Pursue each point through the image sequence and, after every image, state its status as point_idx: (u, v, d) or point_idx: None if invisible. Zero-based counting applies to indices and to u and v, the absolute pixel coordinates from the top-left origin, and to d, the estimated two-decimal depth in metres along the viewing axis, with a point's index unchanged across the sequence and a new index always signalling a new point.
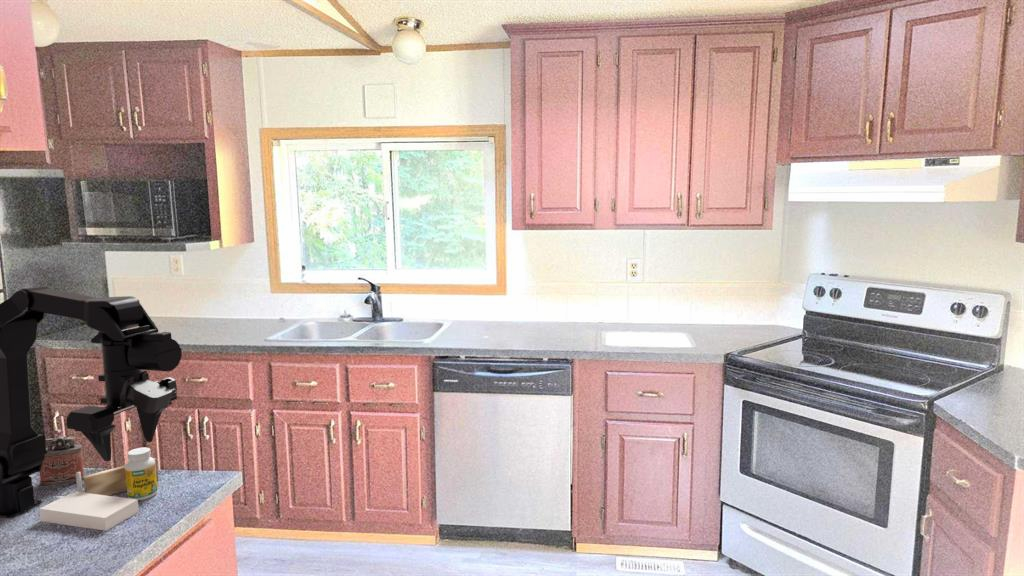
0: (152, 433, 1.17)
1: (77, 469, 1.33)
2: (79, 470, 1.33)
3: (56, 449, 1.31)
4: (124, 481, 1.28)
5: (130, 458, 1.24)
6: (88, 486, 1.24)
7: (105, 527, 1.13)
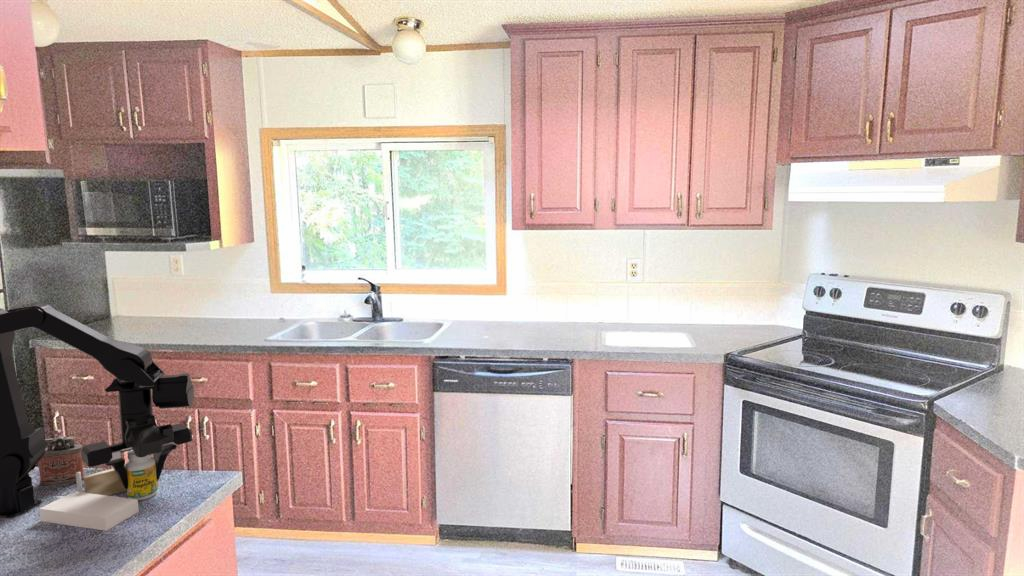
0: (158, 472, 1.28)
1: (77, 469, 1.33)
2: (79, 470, 1.33)
3: (56, 449, 1.31)
4: None
5: (130, 458, 1.24)
6: (88, 486, 1.24)
7: (105, 527, 1.13)
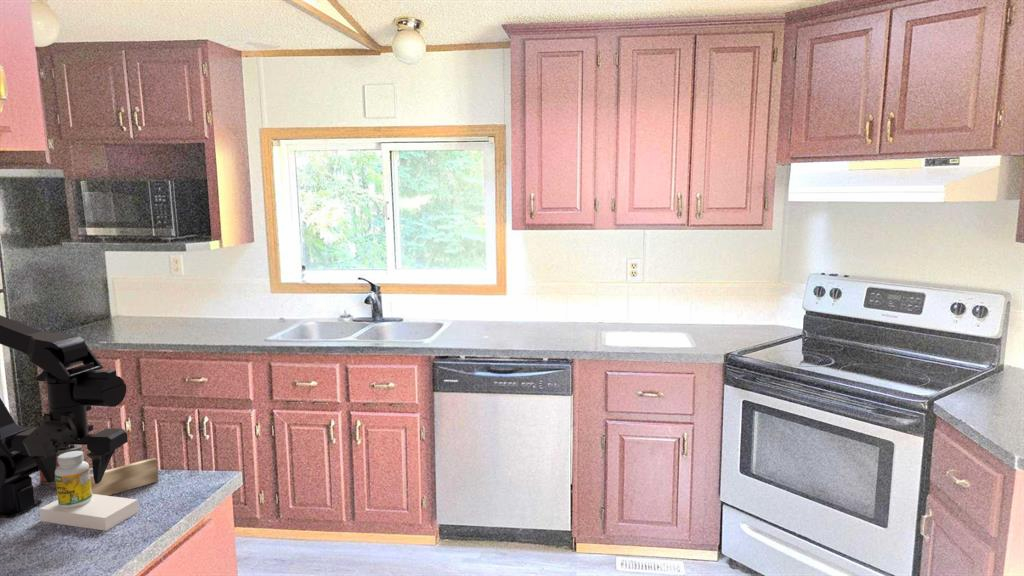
0: (94, 476, 1.17)
1: None
2: None
3: None
4: (124, 481, 1.28)
5: None
6: None
7: (105, 527, 1.13)
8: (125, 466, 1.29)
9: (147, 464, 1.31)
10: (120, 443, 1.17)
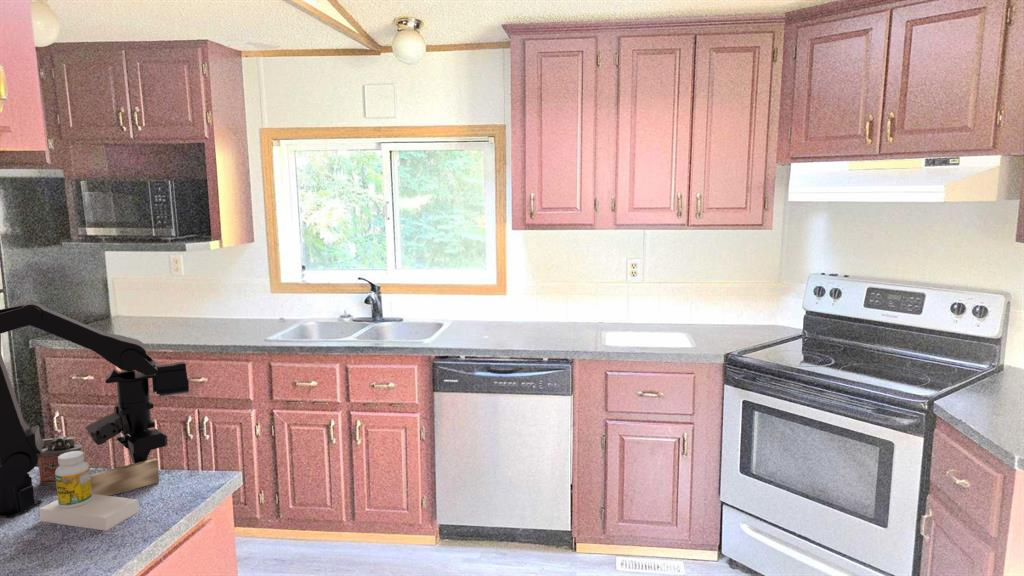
0: (134, 463, 1.31)
1: None
2: None
3: (56, 449, 1.31)
4: (124, 482, 1.28)
5: None
6: None
7: (105, 527, 1.13)
8: (125, 467, 1.28)
9: (148, 465, 1.31)
10: (154, 446, 1.25)
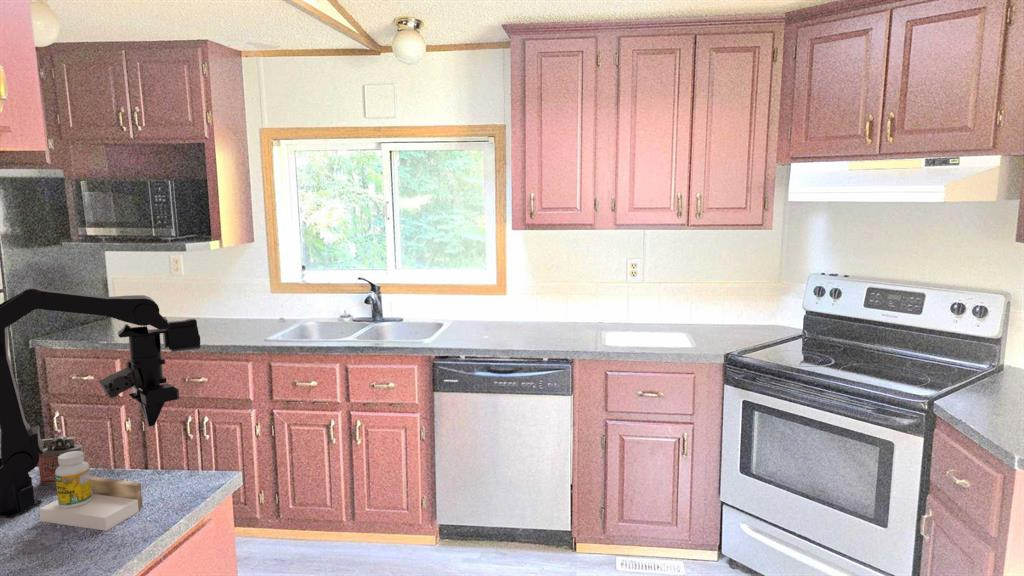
0: (146, 419, 1.32)
1: None
2: None
3: (56, 449, 1.31)
4: None
5: None
6: None
7: (105, 527, 1.13)
8: (113, 481, 1.22)
9: (128, 487, 1.20)
10: (165, 399, 1.26)
